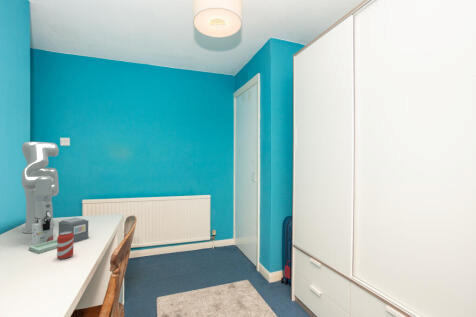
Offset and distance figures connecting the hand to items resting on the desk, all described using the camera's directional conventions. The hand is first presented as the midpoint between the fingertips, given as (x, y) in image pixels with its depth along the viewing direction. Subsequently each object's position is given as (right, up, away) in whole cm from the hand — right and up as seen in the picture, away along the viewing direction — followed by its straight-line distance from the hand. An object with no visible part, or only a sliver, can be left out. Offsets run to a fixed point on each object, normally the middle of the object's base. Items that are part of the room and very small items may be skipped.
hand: (42, 229), depth 130 cm
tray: (+10, -8, -7) cm, 14 cm away
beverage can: (+27, -8, -19) cm, 34 cm away
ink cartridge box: (0, -8, 0) cm, 8 cm away
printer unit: (+14, -8, +6) cm, 17 cm away
